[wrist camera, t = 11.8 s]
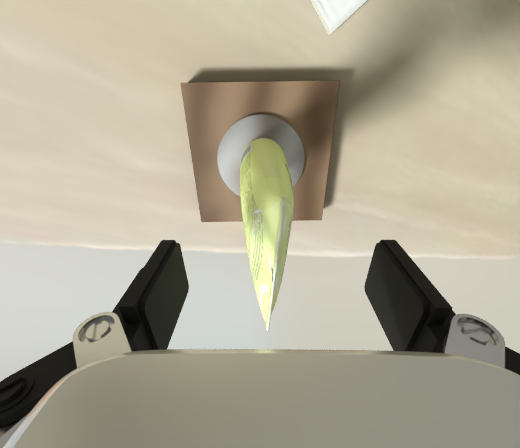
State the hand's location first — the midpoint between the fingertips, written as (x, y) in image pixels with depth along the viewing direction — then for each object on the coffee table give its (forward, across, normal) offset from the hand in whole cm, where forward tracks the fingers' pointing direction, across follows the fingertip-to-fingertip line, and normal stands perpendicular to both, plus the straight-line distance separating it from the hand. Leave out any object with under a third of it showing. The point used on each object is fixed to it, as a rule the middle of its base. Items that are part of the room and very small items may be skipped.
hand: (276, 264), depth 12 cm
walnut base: (+22, +1, 0) cm, 22 cm away
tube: (+19, +1, 0) cm, 19 cm away
